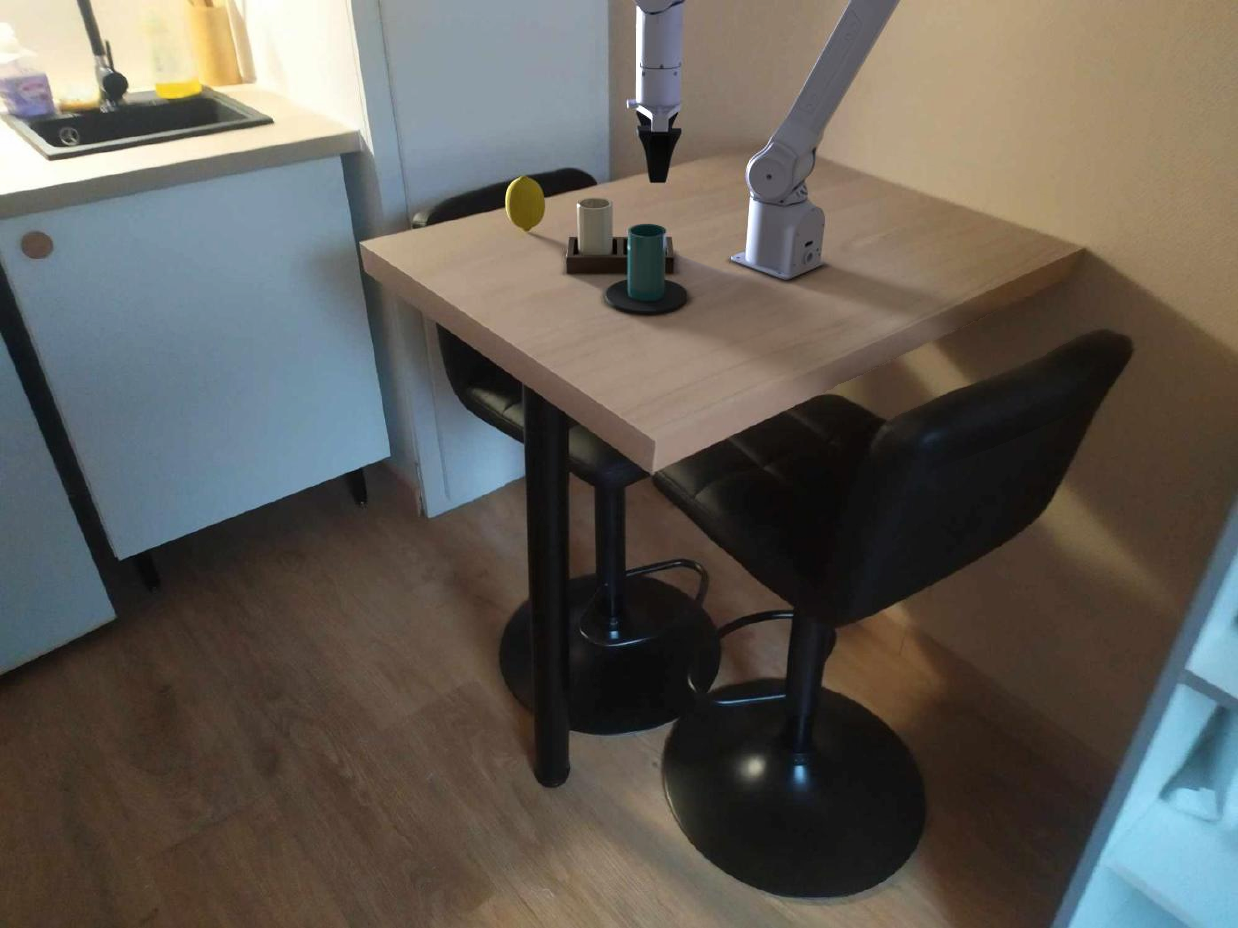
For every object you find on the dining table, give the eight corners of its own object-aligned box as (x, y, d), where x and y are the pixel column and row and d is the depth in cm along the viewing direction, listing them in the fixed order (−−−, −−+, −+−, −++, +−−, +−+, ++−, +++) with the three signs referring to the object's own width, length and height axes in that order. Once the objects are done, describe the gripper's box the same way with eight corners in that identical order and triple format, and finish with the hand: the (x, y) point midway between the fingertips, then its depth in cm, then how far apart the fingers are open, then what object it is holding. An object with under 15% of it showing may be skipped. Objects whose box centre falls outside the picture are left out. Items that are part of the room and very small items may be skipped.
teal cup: (672, 294, 113) (674, 231, 108) (645, 304, 110) (646, 240, 106) (646, 283, 116) (647, 221, 111) (620, 293, 113) (619, 230, 108)
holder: (673, 273, 119) (674, 257, 118) (566, 273, 119) (566, 257, 118) (671, 252, 125) (671, 236, 124) (569, 252, 125) (569, 236, 124)
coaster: (704, 298, 113) (704, 294, 113) (645, 322, 107) (645, 318, 107) (647, 274, 119) (647, 270, 119) (588, 296, 113) (588, 292, 113)
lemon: (540, 240, 129) (537, 183, 125) (502, 237, 130) (498, 180, 126) (550, 226, 134) (548, 170, 129) (513, 223, 135) (510, 168, 130)
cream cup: (619, 263, 122) (619, 203, 118) (594, 272, 120) (593, 211, 115) (597, 253, 125) (596, 195, 120) (571, 262, 122) (569, 203, 118)
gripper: (627, 53, 122) (626, 157, 129) (627, 77, 110) (627, 190, 117) (680, 53, 122) (677, 157, 129) (686, 77, 110) (682, 190, 117)
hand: (656, 173), depth 123 cm, fingers open, 7 cm apart
